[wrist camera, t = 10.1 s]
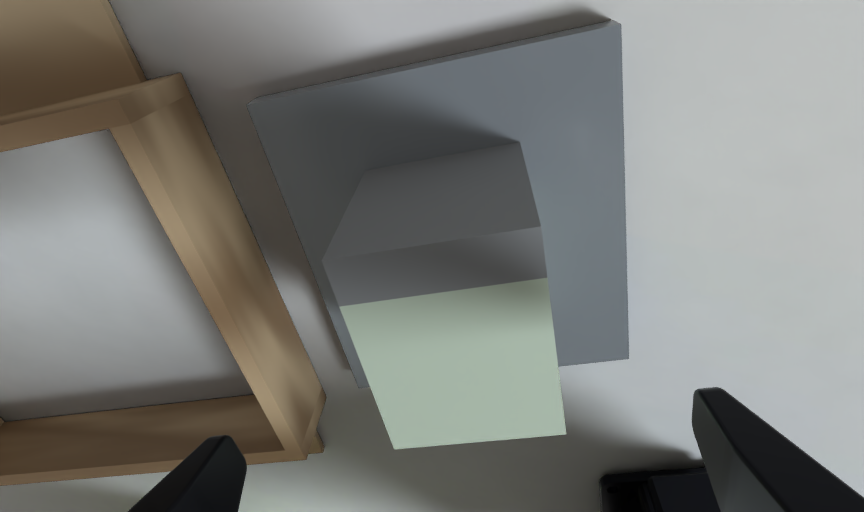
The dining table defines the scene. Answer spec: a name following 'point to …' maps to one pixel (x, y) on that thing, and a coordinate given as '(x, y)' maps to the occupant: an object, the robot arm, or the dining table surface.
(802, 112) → the dining table surface
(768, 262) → the dining table surface
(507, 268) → the box
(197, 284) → the wooden frame
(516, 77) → the coaster
